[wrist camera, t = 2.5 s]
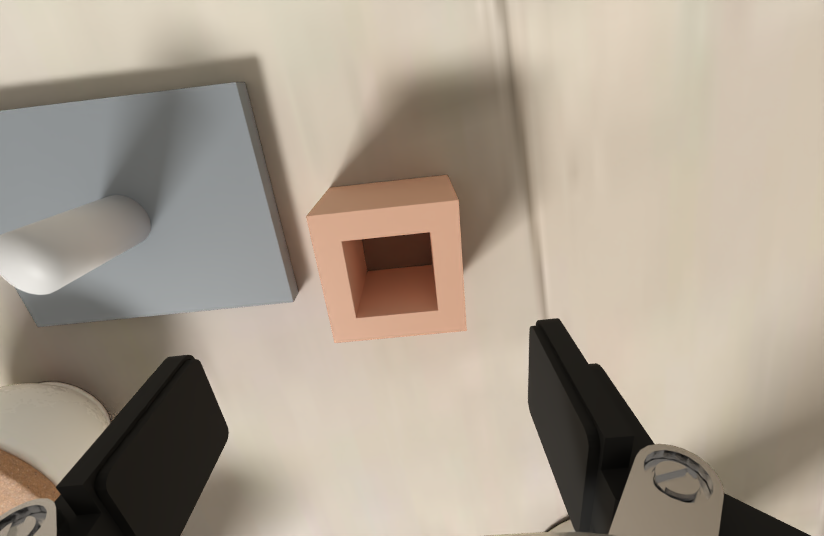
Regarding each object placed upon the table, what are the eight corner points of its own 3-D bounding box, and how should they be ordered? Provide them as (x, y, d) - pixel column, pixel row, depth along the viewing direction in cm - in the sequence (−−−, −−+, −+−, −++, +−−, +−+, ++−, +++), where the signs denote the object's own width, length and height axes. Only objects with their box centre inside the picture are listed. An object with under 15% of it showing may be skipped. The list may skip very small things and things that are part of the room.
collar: (447, 174, 22) (458, 199, 17) (455, 281, 25) (466, 330, 20) (329, 187, 22) (306, 216, 17) (349, 291, 25) (334, 343, 20)
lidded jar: (-41, 352, 27) (-253, 476, 18) (120, 355, 27) (-15, 479, 18) (20, 465, 31) (-127, 608, 23) (158, 467, 31) (64, 609, 23)
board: (245, 82, 20) (164, 79, 13) (298, 292, 25) (258, 365, 18) (-56, 119, 21) (-273, 133, 14) (53, 317, 26) (-70, 395, 19)
